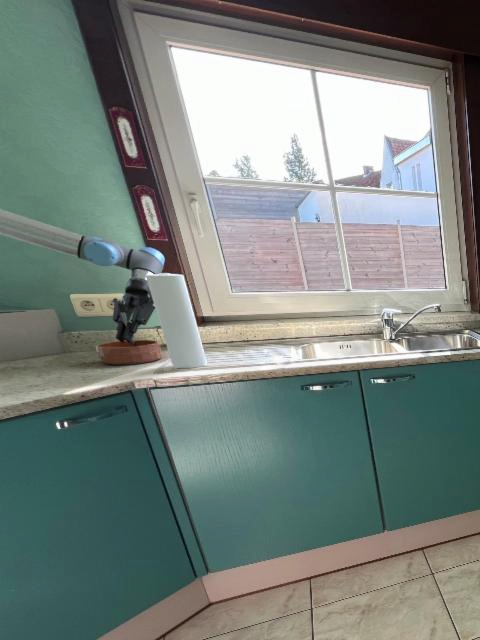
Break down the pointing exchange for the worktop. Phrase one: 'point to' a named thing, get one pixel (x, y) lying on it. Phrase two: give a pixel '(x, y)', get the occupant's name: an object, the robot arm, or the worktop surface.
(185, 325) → the cylinder container
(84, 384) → the worktop surface
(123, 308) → the potato masher
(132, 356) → the bowl
